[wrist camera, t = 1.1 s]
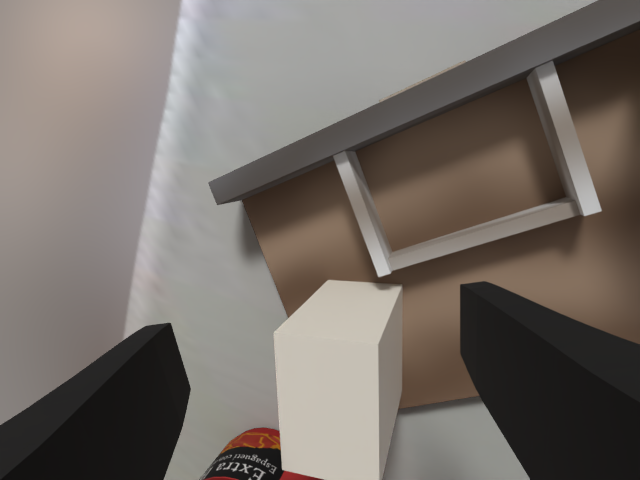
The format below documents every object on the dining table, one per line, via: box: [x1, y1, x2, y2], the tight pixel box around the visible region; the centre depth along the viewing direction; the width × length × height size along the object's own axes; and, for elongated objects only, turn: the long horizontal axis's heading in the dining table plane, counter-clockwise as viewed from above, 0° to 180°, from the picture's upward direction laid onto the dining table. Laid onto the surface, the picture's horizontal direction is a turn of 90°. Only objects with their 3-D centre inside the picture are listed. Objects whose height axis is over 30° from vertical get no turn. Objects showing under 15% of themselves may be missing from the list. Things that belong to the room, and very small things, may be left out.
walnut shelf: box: [208, 0, 640, 409], centre depth 17 cm, size 15×26×4 cm, turn 112°
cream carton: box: [274, 280, 403, 480], centre depth 18 cm, size 4×6×7 cm
